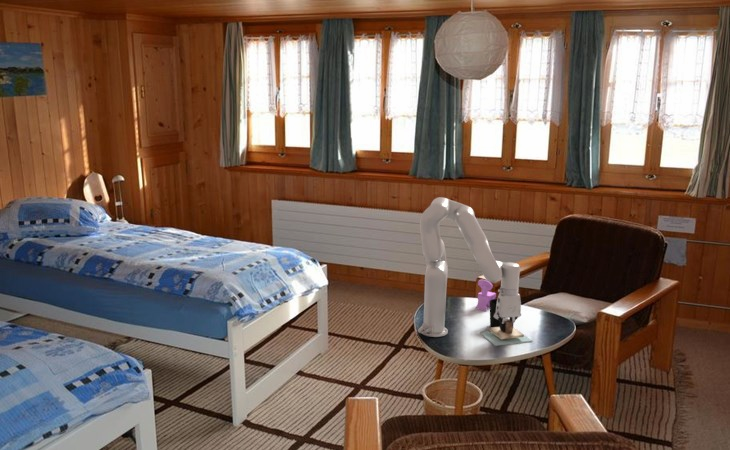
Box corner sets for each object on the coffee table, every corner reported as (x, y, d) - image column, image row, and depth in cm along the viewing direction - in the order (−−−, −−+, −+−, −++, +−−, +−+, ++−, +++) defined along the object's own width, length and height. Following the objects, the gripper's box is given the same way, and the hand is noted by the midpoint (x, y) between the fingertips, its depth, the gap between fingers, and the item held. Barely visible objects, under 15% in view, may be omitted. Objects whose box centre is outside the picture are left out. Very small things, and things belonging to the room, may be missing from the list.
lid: (501, 339, 281) (502, 326, 280) (489, 329, 292) (490, 317, 290) (523, 337, 284) (524, 324, 283) (511, 327, 295) (512, 315, 293)
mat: (495, 345, 279) (495, 344, 279) (480, 333, 292) (480, 332, 292) (532, 341, 285) (532, 340, 284) (516, 330, 298) (516, 328, 298)
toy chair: (497, 307, 327) (499, 278, 324) (488, 311, 321) (490, 282, 317) (483, 303, 332) (484, 275, 329) (473, 307, 326) (475, 278, 323)
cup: (504, 330, 297) (506, 305, 294) (487, 328, 299) (489, 303, 296) (504, 324, 304) (506, 299, 302) (488, 322, 306) (489, 298, 303)
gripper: (496, 295, 278) (493, 335, 282) (530, 292, 283) (527, 332, 287) (488, 289, 285) (485, 329, 289) (521, 287, 290) (518, 326, 294)
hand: (506, 330), depth 288 cm, fingers closed on lid, 3 cm apart
